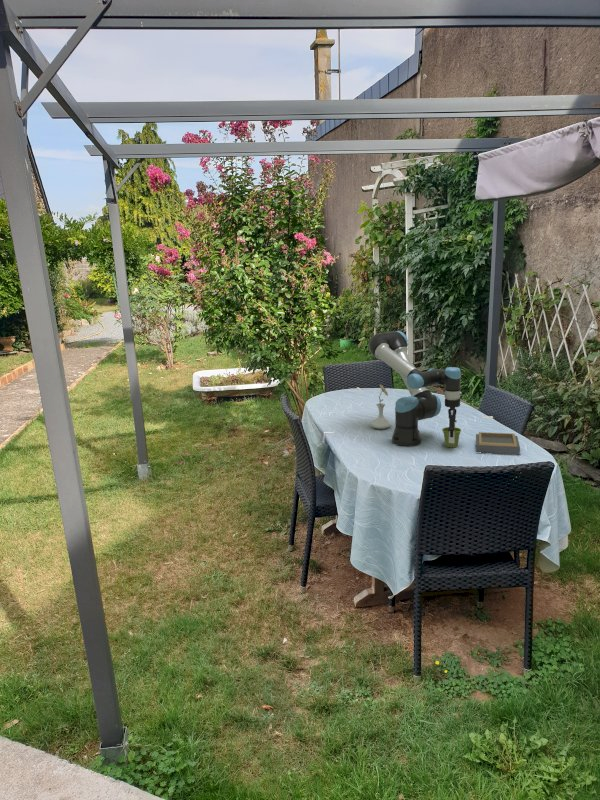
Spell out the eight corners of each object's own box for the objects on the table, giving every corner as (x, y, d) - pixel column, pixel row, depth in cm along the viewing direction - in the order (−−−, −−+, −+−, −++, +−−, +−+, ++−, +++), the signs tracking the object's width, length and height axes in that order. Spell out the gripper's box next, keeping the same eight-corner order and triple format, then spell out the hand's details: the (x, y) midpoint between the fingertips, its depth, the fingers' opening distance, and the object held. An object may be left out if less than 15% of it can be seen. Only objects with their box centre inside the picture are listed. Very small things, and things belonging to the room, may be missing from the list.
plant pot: (447, 449, 285) (448, 433, 283) (438, 444, 294) (438, 428, 292) (464, 447, 288) (464, 431, 286) (454, 442, 296) (455, 426, 294)
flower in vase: (390, 430, 320) (390, 387, 314) (370, 430, 322) (369, 387, 316) (391, 424, 332) (391, 382, 326) (372, 423, 335) (371, 382, 328)
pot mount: (476, 452, 279) (476, 442, 278) (475, 441, 296) (476, 431, 295) (519, 455, 274) (520, 444, 272) (516, 443, 290) (517, 433, 289)
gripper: (459, 404, 272) (459, 446, 277) (460, 392, 295) (460, 431, 300) (443, 404, 274) (443, 446, 279) (445, 392, 297) (445, 431, 302)
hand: (452, 438), depth 290 cm, fingers open, 13 cm apart
